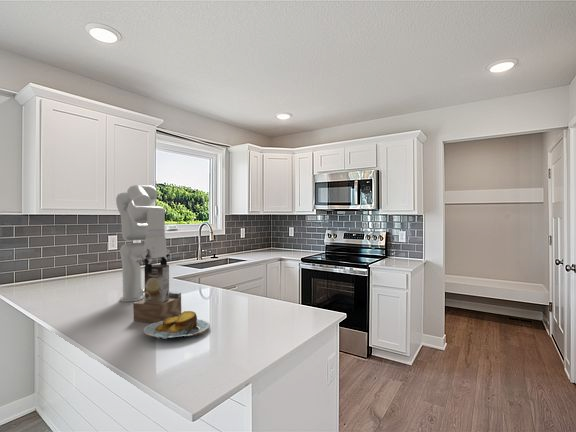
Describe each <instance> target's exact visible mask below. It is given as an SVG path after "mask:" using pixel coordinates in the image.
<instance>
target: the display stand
mask: <svg viewBox="0 0 576 432" xmlns="http://www.w3.org/2000/svg"><path fill="white" fill-rule="evenodd" d="M132 303H133V302H132ZM132 306H133V307H132V308H133V310H132V311H133V322H135V323H137V322H139V323H144V324H145V323H146V324H152V323H157V322H160V321H164V320H165V319H167V318H170V317H175V316H181V314H182V293H181V292H177V291H176V292H174V291H169V299H168V300H166V301H164V302H145V298H144V299H142V300H138V301H135V302H134V303H133V304H132Z"/></svg>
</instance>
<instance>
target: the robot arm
mask: <svg viewBox="0 0 576 432" xmlns="http://www.w3.org/2000/svg"><path fill="white" fill-rule="evenodd" d="M115 199H116V200H115V201H116V203H115V204H116V208H117V210H118V213H119V216H120V222H121V236H122V239H123V240H124V241H128V242H129V241H132V242H129V243H124V244H123V245H121V247H120V249H119V254H120V259H121V267H122V270H121V271H122V272H121V273H122V296H121V297H119V302H122V303H130V302H132V303H133V302H139V301H141V300H144V299H145V288H144V289H143V288H142V285H143V284H142V267H141V265H140V263H139V262H137V261H138V260H141V261H142V262H143V264H144V267H145V271H144V273H145V272H146V273H152V261H153V260H156V259H161V260H160V262H159V263H160V264H159V265H168V258H169V256H170V252H171V249H168V248H167V240H166V239H167V238H166V236H165V232H166V231H165V230H166V228H165V226H166V225H165V224H166V223H165V217H166V215H165V208H164V207H162V206H158V205H157V206H155V205H154V206H153V204H154V203H155V202H156V201H157V199H158V191H157V189H156V187H154V186H153V185H144V184H143V185H140V184H139V185H138V184H134V185H131V186H129V187H128V188H127V192H121V193H118V194H117V195H116V197H115ZM134 241H143V242H134Z"/></svg>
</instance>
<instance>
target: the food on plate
mask: <svg viewBox="0 0 576 432" xmlns="http://www.w3.org/2000/svg"><path fill="white" fill-rule="evenodd" d="M210 327H211V325H210V323H209V322H207V321H205V320H203V319H198V316H197V313H196V312H195V311H191V310H187V311H183V312H181V314H180V315H178V316H175V317H170V318H167V319H165V320H164V321H160V322H157V323H148V325H146V326H145V327H144V328H143V329H142V332H143V334H144V336H145V335H146V336H148V337H153V338H156V339H160V338H162V340H163V339H164V340H165V339H169V338H176V337H178V338H179V337H183V336H184V337H192V336H196V335H201V334H205V332H206V331H207V330H208V329H209V328H210Z"/></svg>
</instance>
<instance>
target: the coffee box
mask: <svg viewBox="0 0 576 432" xmlns="http://www.w3.org/2000/svg"><path fill="white" fill-rule="evenodd" d="M151 264H152V263H151ZM143 270H144V289H145V293H144V295H145V298H144V299H145V302H164V301H166V300H168V299H169V292H170V265H169V264H167V265H161V264H152V273H146V272H145V266H144V269H143Z"/></svg>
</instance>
